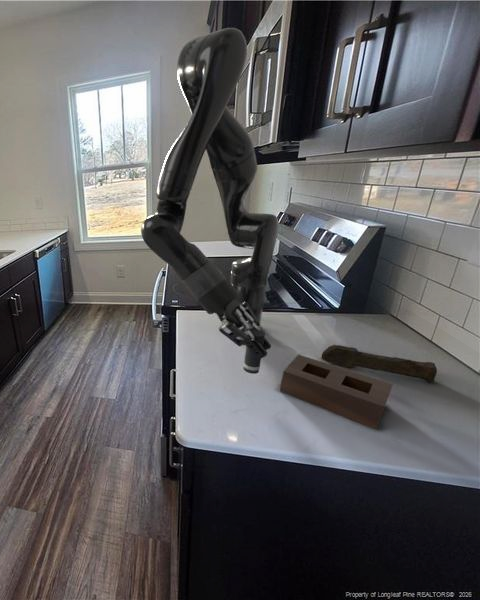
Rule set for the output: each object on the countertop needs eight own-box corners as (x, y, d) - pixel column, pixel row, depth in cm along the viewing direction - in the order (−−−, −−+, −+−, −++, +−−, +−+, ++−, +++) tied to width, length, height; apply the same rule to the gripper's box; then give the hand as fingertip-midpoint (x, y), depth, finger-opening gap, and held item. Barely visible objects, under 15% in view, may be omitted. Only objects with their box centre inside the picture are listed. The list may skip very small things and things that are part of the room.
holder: (294, 373, 72) (298, 354, 71) (385, 405, 61) (393, 383, 59) (279, 390, 67) (283, 370, 65) (376, 429, 56) (384, 406, 54)
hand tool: (427, 375, 69) (434, 357, 67) (433, 385, 66) (441, 366, 64) (320, 355, 79) (324, 339, 77) (321, 363, 75) (325, 346, 74)
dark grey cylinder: (246, 364, 70) (252, 327, 67) (261, 369, 68) (268, 332, 65) (240, 369, 68) (245, 332, 65) (255, 375, 66) (261, 337, 63)
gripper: (212, 287, 60) (275, 361, 57) (233, 268, 70) (288, 331, 67) (184, 307, 66) (240, 376, 63) (207, 287, 75) (257, 345, 73)
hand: (265, 352), depth 65 cm, fingers closed on dark grey cylinder, 3 cm apart
